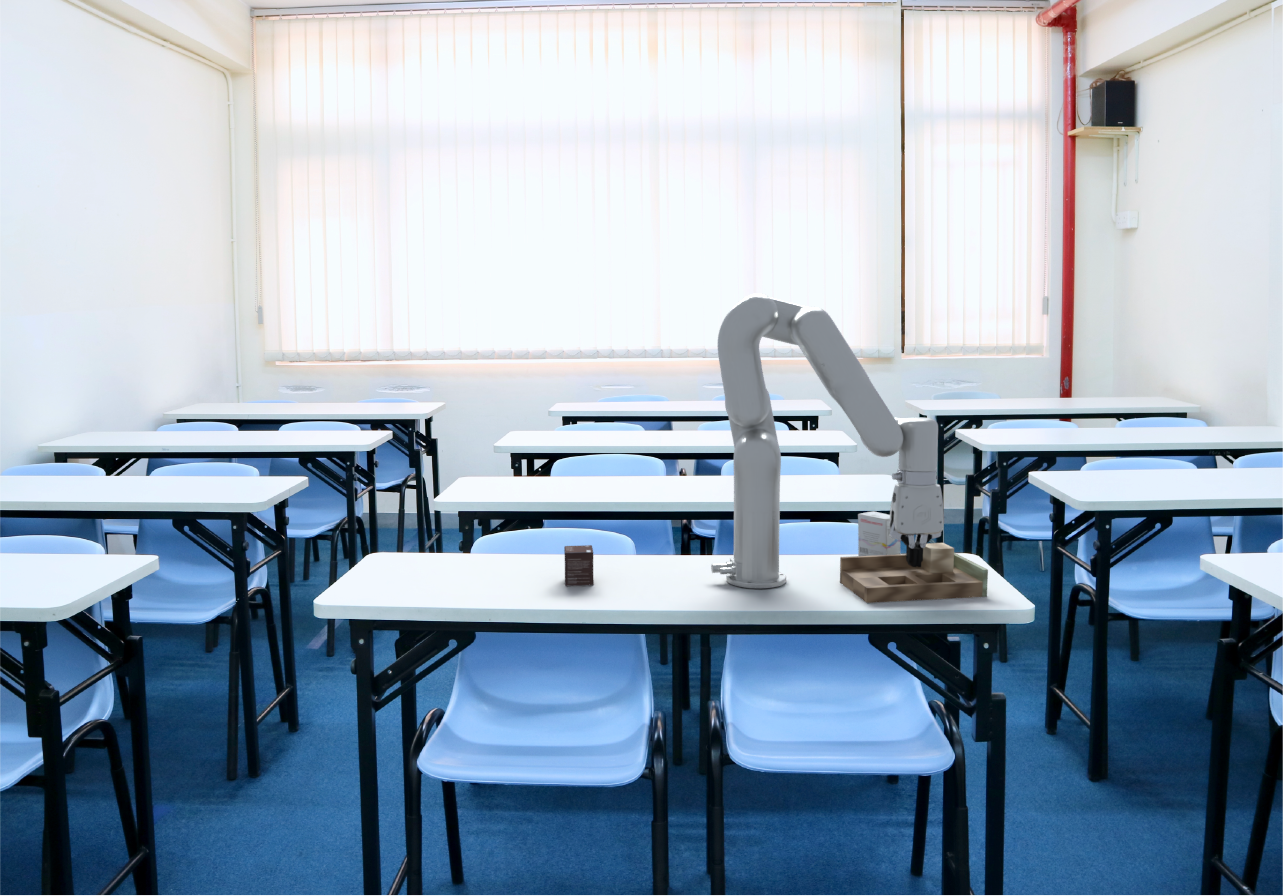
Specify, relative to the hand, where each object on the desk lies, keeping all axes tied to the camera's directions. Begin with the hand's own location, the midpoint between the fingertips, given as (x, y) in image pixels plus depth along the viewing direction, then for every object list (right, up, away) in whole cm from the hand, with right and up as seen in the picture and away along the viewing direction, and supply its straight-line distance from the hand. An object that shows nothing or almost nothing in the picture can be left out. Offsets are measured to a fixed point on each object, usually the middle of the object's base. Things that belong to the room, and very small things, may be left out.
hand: (914, 565), depth 201 cm
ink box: (-4, -2, +16) cm, 16 cm away
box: (-70, -4, +5) cm, 70 cm away
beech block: (+5, -1, +1) cm, 5 cm away
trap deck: (-2, -5, -3) cm, 6 cm away
